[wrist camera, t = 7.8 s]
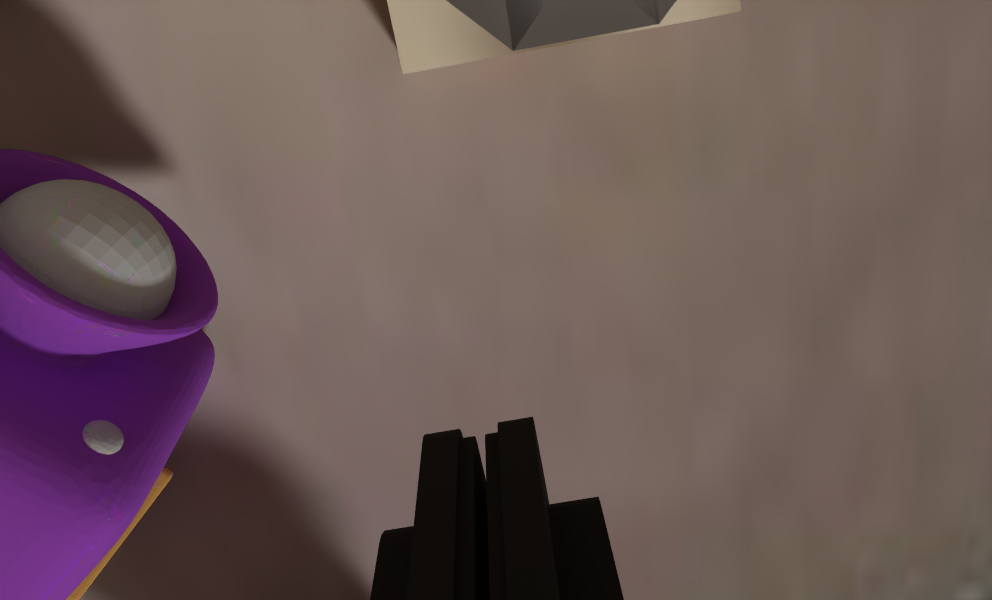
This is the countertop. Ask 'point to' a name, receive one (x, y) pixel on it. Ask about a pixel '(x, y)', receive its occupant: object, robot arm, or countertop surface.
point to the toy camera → (89, 367)
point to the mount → (525, 25)
